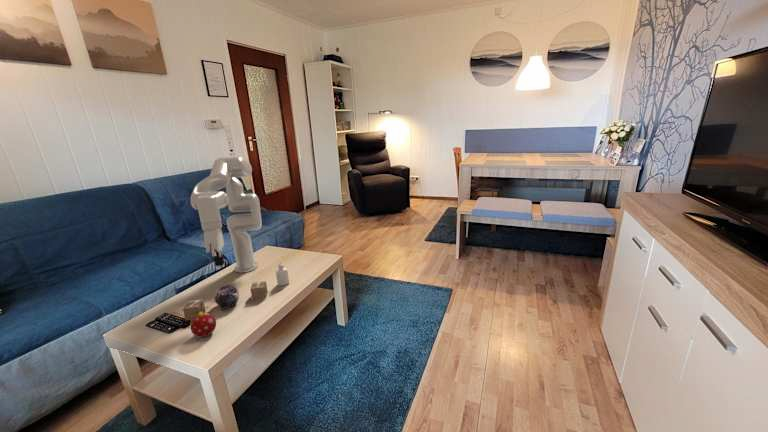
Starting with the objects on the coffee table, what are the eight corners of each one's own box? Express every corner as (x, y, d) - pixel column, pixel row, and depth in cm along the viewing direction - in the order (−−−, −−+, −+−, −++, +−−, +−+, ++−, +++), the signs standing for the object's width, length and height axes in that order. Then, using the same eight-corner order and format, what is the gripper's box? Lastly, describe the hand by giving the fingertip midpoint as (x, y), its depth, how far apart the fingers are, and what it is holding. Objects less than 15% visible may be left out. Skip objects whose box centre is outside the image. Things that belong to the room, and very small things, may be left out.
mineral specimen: (221, 295, 146) (225, 277, 143) (241, 304, 146) (246, 286, 143) (207, 306, 137) (211, 288, 134) (228, 315, 137) (233, 297, 134)
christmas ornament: (214, 339, 118) (209, 316, 116) (189, 343, 117) (183, 320, 114) (220, 325, 126) (215, 304, 124) (197, 329, 125) (192, 307, 122)
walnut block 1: (254, 294, 150) (252, 282, 148) (267, 292, 151) (265, 280, 149) (252, 300, 144) (250, 288, 142) (266, 298, 146) (264, 286, 144)
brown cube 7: (190, 313, 136) (187, 300, 134) (205, 311, 137) (202, 298, 136) (185, 321, 131) (182, 308, 129) (201, 318, 132) (198, 306, 130)
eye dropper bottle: (280, 281, 161) (276, 260, 157) (290, 281, 160) (287, 260, 156) (276, 285, 156) (272, 264, 153) (286, 286, 156) (283, 264, 152)
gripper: (207, 220, 136) (215, 259, 141) (195, 230, 122) (205, 273, 127) (225, 218, 138) (233, 257, 143) (216, 228, 124) (225, 271, 129)
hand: (219, 264), depth 135 cm, fingers closed
